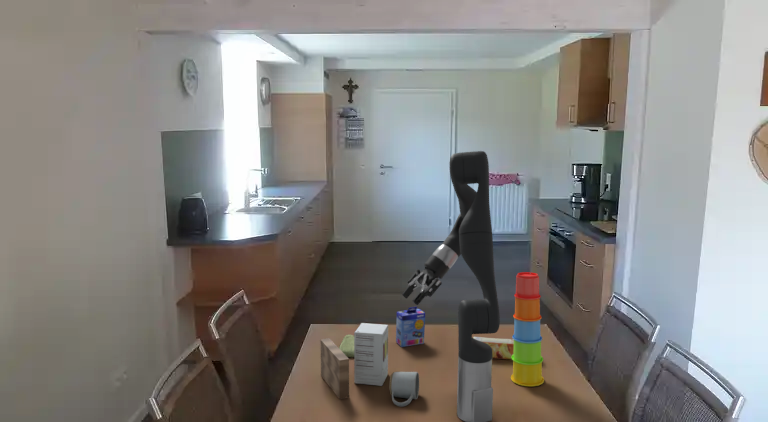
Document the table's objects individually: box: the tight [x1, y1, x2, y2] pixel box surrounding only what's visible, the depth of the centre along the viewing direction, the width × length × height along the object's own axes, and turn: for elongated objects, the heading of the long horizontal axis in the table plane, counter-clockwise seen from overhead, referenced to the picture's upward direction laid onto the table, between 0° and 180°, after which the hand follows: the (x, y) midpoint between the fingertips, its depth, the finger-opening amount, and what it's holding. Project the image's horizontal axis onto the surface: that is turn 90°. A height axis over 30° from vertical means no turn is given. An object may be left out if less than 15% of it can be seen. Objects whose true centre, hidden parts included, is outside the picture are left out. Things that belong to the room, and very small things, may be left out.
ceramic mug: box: [388, 371, 420, 408], centre depth 166 cm, size 11×8×8 cm
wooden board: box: [319, 338, 350, 400], centre depth 174 cm, size 18×3×12 cm, turn 24°
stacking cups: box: [510, 271, 545, 387], centre depth 176 cm, size 10×10×35 cm
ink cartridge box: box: [395, 305, 426, 348], centre depth 209 cm, size 10×6×14 cm, turn 115°
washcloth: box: [338, 334, 354, 358], centre depth 204 cm, size 13×18×3 cm
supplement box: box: [353, 322, 389, 387], centre depth 178 cm, size 10×9×17 cm
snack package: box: [472, 336, 514, 360], centre depth 197 cm, size 21×7×7 cm, turn 83°
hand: (409, 299), depth 181 cm, fingers open, 7 cm apart
